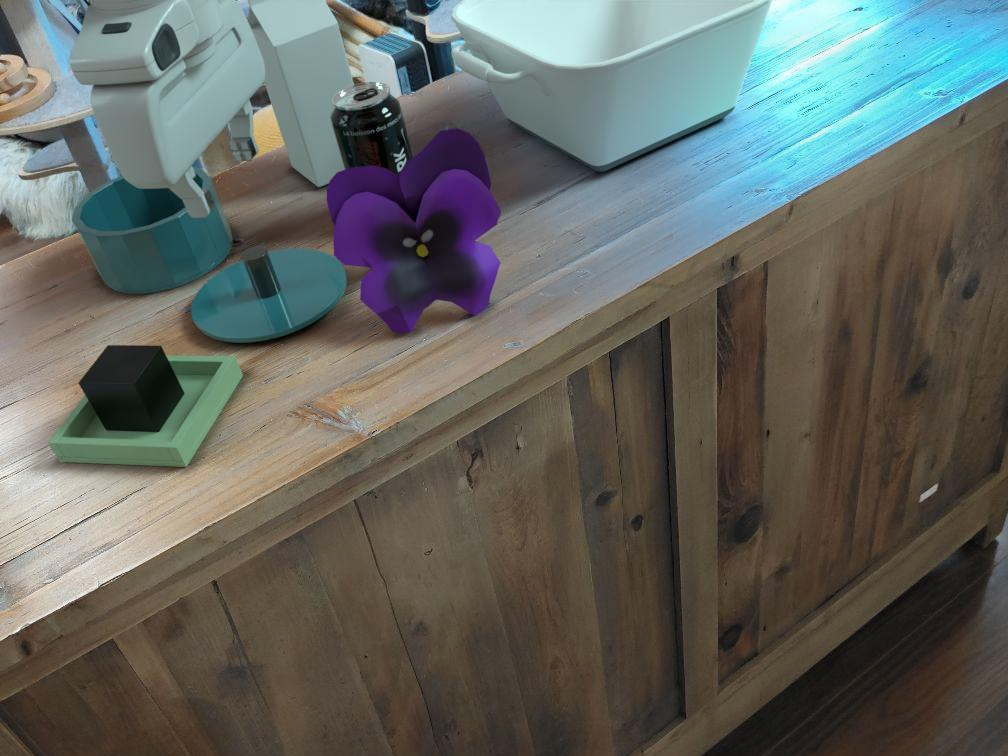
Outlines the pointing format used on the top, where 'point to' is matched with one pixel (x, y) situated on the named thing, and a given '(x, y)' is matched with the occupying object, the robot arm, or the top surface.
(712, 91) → the tub
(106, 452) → the tray
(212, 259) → the cook pot
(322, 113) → the milk carton
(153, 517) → the top surface
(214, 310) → the pot lid
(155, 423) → the black block
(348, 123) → the beverage can
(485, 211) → the flower
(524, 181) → the top surface
